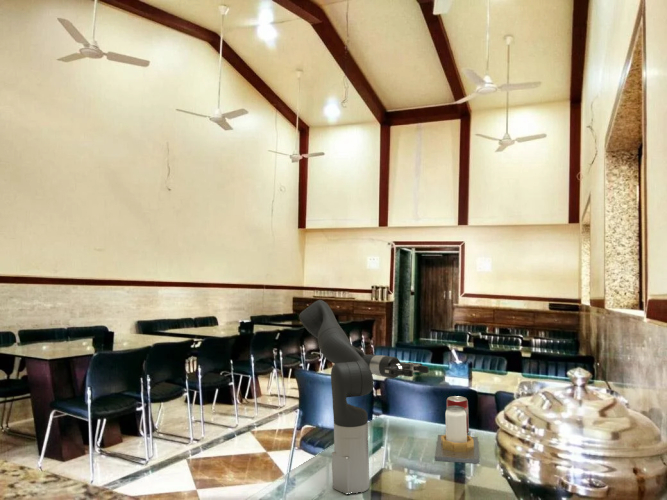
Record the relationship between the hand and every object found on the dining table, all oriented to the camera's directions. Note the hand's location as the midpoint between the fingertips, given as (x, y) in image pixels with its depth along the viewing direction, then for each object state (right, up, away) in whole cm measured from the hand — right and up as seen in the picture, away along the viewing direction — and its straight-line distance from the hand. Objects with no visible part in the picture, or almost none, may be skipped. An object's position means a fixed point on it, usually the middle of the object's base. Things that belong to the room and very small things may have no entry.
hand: (420, 371), depth 169 cm
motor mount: (+10, -22, -11) cm, 27 cm away
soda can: (+14, -23, +5) cm, 27 cm away
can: (+10, -21, -11) cm, 26 cm away
